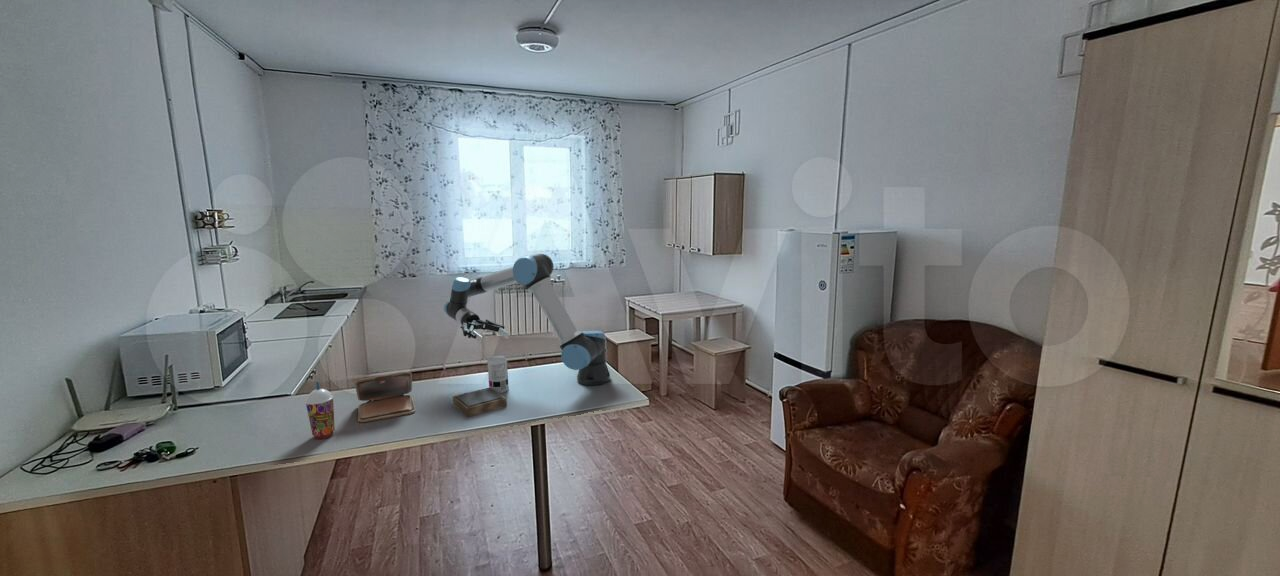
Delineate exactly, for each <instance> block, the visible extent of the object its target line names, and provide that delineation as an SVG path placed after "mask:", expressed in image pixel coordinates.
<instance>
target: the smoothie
mask: <svg viewBox="0 0 1280 576" xmlns="http://www.w3.org/2000/svg"><path fill="white" fill-rule="evenodd" d="M315 383H316V389H313V390H312V391H311V392H310V393H309V394H308V396H307V398H306V400H305V405H306V410H307V416H308V420H309V425H310V430H311V434H312V436H314V439H318V440H322V439H326V438H329V437H332V436H333V435H334V432H335V429H336V427H335V408H334V404H335V403H334V395H332V393H331V392H330V391H329V390H327V389H326V388H320V383H319V381H316V382H315Z"/></svg>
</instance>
